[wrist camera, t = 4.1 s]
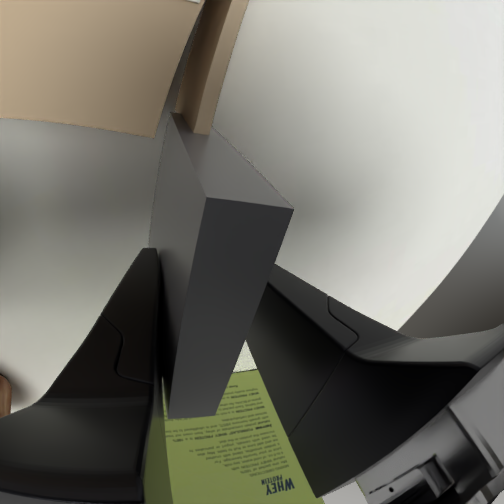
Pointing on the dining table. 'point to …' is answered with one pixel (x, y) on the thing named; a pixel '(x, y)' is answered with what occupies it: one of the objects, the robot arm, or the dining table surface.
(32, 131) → the dining table surface
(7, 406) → the cupcake
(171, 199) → the grey and tan blocks
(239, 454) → the protein box
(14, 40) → the carton
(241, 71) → the dining table surface
